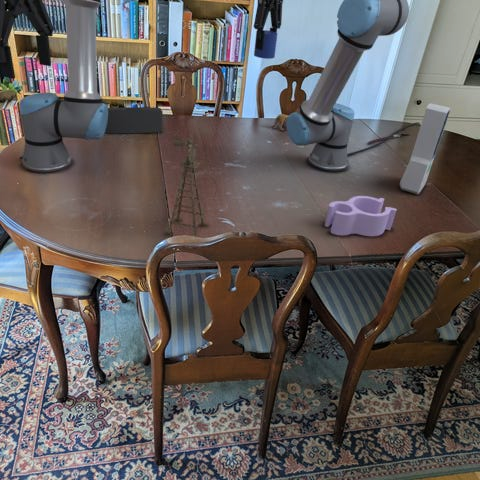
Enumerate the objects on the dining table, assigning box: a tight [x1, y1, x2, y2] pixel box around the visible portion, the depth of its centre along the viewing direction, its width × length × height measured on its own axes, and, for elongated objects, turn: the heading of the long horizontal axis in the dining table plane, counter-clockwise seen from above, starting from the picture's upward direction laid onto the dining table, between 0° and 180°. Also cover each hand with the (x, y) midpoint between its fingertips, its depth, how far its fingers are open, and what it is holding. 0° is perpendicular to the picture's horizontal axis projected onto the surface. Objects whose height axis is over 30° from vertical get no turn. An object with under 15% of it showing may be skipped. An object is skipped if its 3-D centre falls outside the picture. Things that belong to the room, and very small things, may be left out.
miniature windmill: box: [167, 128, 205, 238], centre depth 124 cm, size 9×8×30 cm
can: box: [253, 29, 278, 60], centre depth 175 cm, size 8×8×8 cm
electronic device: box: [399, 102, 452, 195], centre depth 163 cm, size 12×8×30 cm, turn 148°
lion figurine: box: [271, 108, 300, 131], centre depth 210 cm, size 15×5×9 cm, turn 110°
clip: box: [324, 195, 398, 237], centre depth 141 cm, size 20×12×7 cm, turn 109°
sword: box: [367, 132, 409, 145], centre depth 213 cm, size 31×3×1 cm, turn 126°
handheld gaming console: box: [105, 106, 164, 134], centre depth 189 cm, size 23×3×10 cm, turn 108°
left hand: (28, 71), depth 107 cm, fingers open, 13 cm apart
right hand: (265, 47), depth 176 cm, fingers closed on can, 8 cm apart
